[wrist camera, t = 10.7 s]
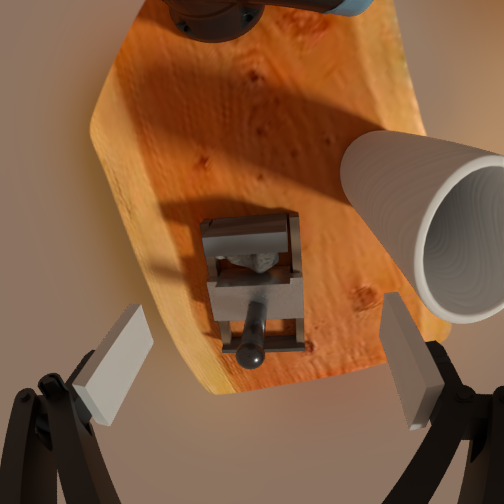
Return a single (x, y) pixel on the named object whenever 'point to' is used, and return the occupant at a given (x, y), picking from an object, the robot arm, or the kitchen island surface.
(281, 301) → the ram
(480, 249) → the vase
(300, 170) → the kitchen island surface
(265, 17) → the kitchen island surface
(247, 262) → the stone
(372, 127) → the kitchen island surface
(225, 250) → the grey rectangular frame
